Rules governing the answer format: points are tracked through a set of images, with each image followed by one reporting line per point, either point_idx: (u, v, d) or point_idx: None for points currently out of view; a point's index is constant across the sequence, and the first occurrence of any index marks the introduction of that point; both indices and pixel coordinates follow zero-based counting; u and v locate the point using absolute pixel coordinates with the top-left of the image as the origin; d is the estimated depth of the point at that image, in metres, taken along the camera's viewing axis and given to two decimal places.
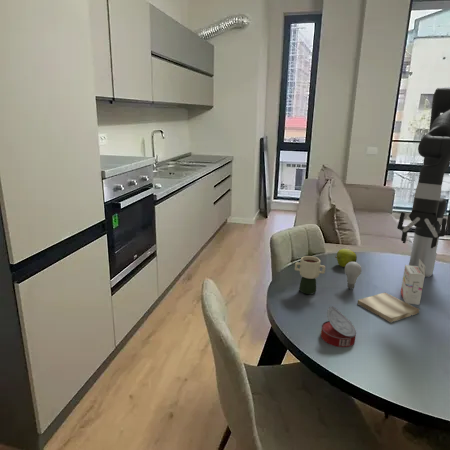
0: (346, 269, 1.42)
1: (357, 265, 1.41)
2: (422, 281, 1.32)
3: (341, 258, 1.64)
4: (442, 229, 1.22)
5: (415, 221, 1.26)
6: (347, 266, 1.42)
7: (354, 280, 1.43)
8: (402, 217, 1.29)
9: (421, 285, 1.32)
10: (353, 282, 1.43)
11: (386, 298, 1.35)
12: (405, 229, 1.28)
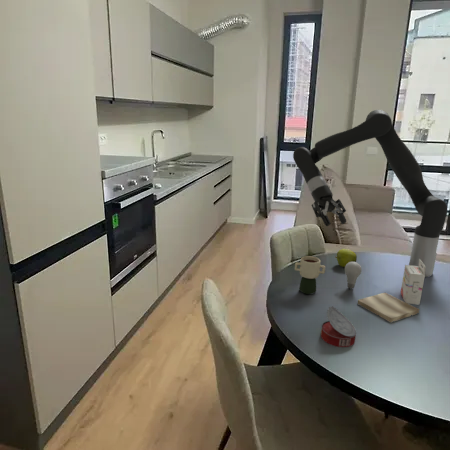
0: (346, 269, 1.42)
1: (357, 265, 1.41)
2: (422, 281, 1.32)
3: (341, 258, 1.64)
4: None
5: None
6: (347, 266, 1.42)
7: (354, 280, 1.43)
8: None
9: (421, 285, 1.32)
10: (353, 282, 1.43)
11: (386, 298, 1.35)
12: None
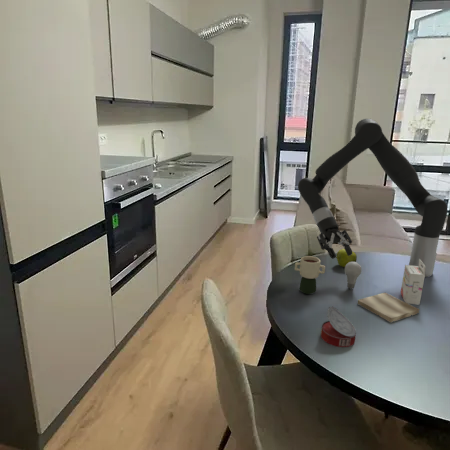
0: (346, 269, 1.42)
1: (357, 265, 1.41)
2: (422, 281, 1.32)
3: (341, 258, 1.64)
4: None
5: None
6: (347, 266, 1.42)
7: (354, 280, 1.43)
8: None
9: (421, 285, 1.32)
10: (353, 282, 1.43)
11: (386, 298, 1.35)
12: None
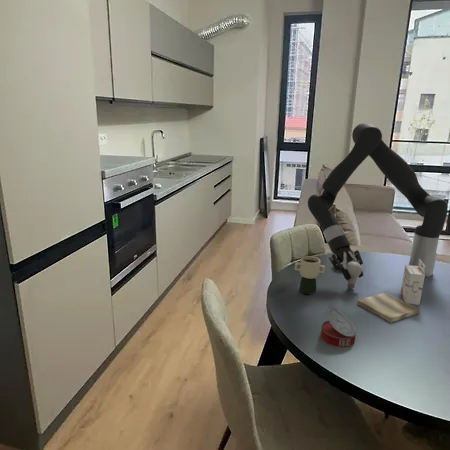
0: None
1: (357, 265, 1.41)
2: (422, 281, 1.32)
3: None
4: None
5: None
6: (347, 266, 1.42)
7: (354, 280, 1.43)
8: None
9: (421, 285, 1.32)
10: (353, 282, 1.43)
11: (386, 298, 1.35)
12: None
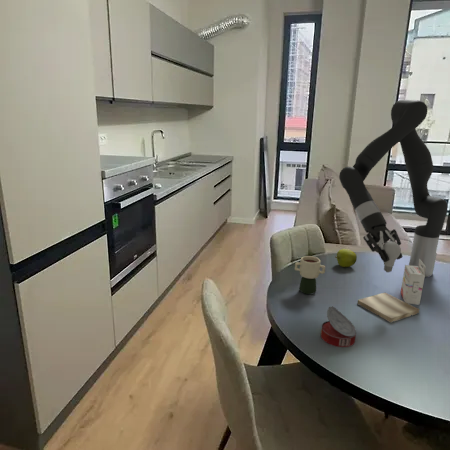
0: None
1: (396, 245, 1.25)
2: (422, 281, 1.32)
3: (341, 258, 1.64)
4: None
5: None
6: (384, 246, 1.26)
7: (392, 262, 1.27)
8: None
9: (421, 285, 1.32)
10: (391, 264, 1.27)
11: (386, 298, 1.35)
12: None
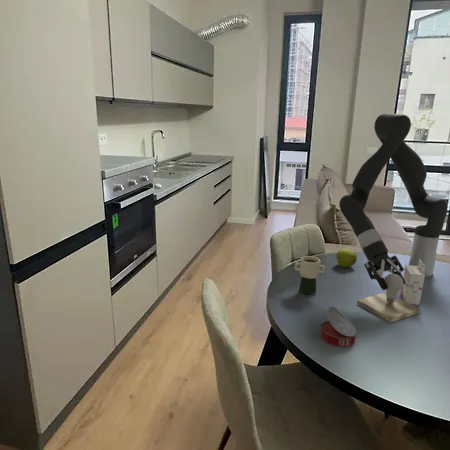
0: None
1: (398, 278, 1.27)
2: (422, 281, 1.32)
3: (341, 258, 1.64)
4: None
5: None
6: (387, 279, 1.28)
7: (394, 295, 1.29)
8: None
9: (421, 285, 1.32)
10: (393, 296, 1.29)
11: (386, 298, 1.35)
12: None
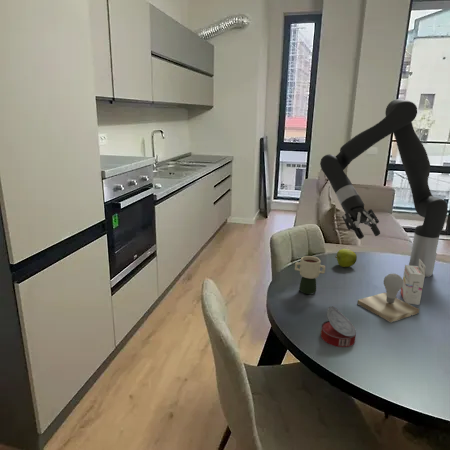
0: (385, 282, 1.29)
1: (398, 278, 1.27)
2: (422, 281, 1.32)
3: (341, 258, 1.64)
4: None
5: None
6: (387, 278, 1.28)
7: (394, 294, 1.29)
8: None
9: (421, 285, 1.32)
10: (393, 296, 1.29)
11: (386, 298, 1.35)
12: None
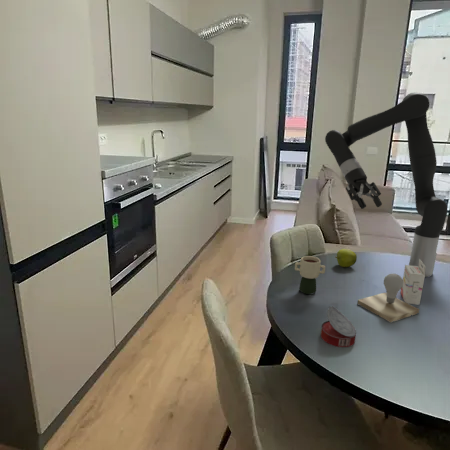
0: (385, 282, 1.29)
1: (398, 278, 1.27)
2: (422, 281, 1.32)
3: (341, 258, 1.64)
4: None
5: None
6: (387, 278, 1.28)
7: (394, 294, 1.29)
8: None
9: (421, 285, 1.32)
10: (393, 296, 1.29)
11: (386, 298, 1.35)
12: None
